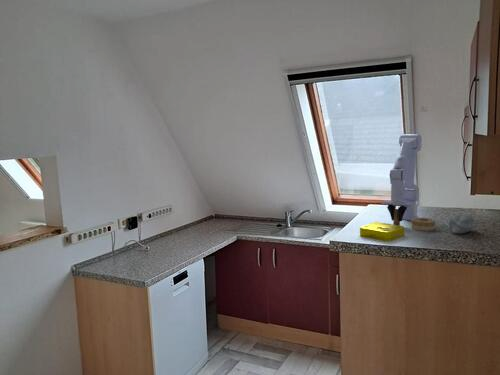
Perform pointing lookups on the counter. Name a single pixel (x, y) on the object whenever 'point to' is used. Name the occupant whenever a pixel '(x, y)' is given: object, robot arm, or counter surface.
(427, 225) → the bead
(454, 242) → the counter surface
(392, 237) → the element tile
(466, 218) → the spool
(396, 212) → the peg
